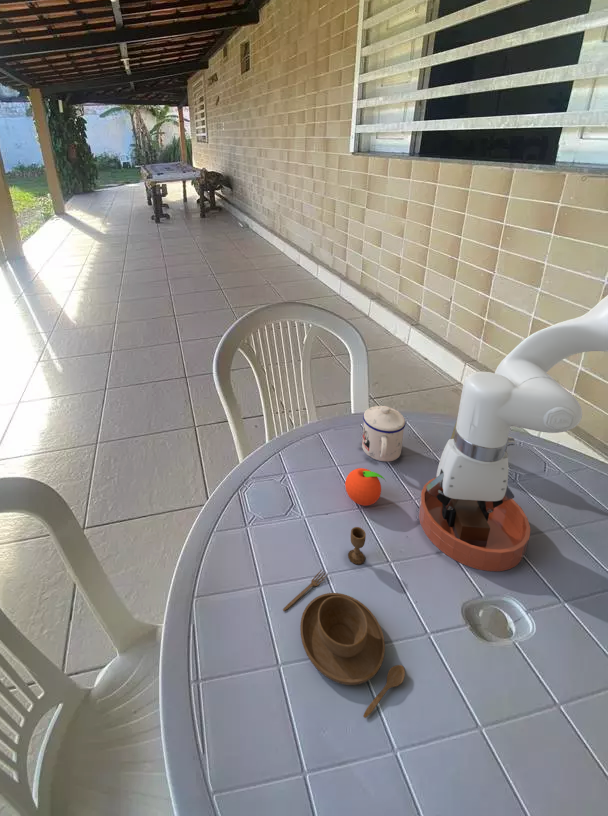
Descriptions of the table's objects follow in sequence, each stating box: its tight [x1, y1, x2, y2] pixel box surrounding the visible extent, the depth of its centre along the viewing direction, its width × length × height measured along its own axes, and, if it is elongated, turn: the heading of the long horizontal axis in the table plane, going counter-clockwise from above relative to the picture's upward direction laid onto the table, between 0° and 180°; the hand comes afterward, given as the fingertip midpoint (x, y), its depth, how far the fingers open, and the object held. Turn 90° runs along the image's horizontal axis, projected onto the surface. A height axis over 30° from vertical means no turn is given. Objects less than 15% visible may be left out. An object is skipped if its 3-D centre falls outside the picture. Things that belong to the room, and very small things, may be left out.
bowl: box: [418, 477, 531, 572], centre depth 78 cm, size 17×17×4 cm
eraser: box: [442, 499, 490, 547], centre depth 78 cm, size 4×9×4 cm, turn 172°
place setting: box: [282, 526, 406, 719], centre depth 64 cm, size 18×20×6 cm
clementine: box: [344, 467, 386, 507], centre depth 85 cm, size 8×7×7 cm
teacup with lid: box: [361, 405, 407, 462], centre depth 96 cm, size 12×9×12 cm
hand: (463, 520), depth 78 cm, fingers closed on eraser, 4 cm apart
